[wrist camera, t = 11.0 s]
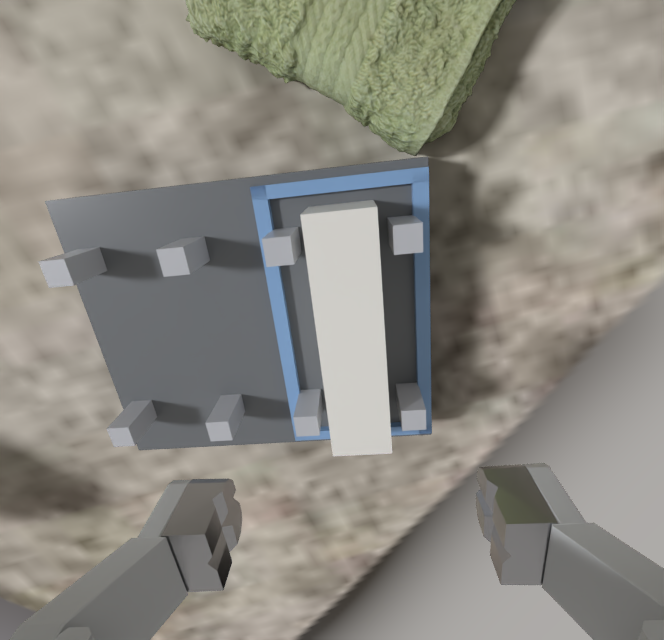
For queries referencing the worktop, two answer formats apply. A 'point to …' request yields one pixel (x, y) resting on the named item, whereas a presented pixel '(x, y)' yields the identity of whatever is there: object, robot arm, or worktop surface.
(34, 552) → the worktop surface
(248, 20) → the washcloth
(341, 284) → the bar
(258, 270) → the board
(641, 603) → the robot arm
